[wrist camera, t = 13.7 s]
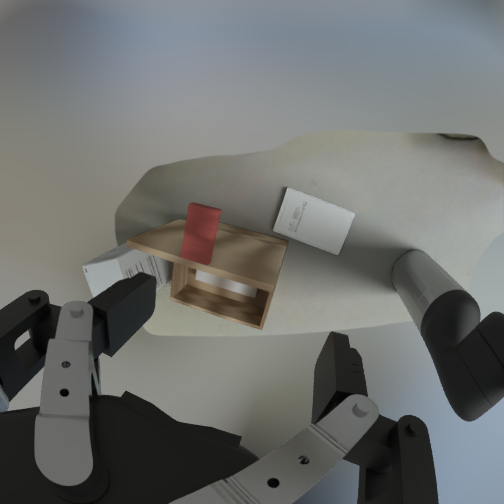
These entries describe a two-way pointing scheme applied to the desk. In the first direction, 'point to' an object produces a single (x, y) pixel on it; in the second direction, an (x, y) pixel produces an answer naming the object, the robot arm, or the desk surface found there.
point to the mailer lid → (213, 249)
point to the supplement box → (125, 268)
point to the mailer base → (221, 295)
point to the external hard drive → (313, 221)
